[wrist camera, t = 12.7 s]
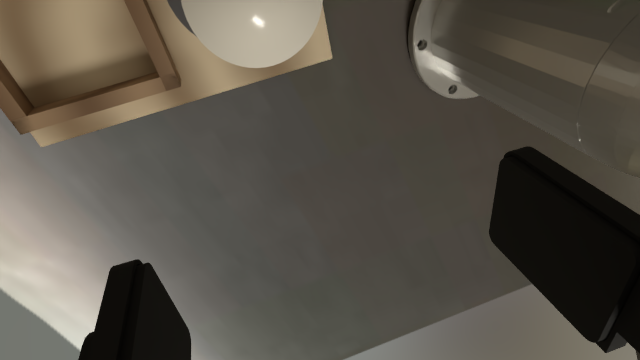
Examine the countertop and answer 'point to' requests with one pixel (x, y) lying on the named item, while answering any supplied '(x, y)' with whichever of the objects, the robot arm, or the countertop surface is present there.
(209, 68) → the jug stand
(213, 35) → the jug
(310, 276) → the countertop surface
